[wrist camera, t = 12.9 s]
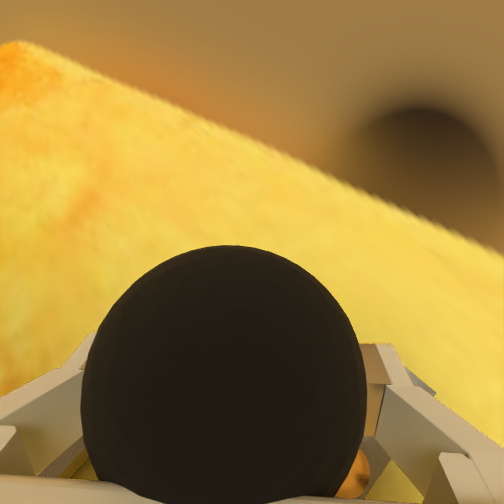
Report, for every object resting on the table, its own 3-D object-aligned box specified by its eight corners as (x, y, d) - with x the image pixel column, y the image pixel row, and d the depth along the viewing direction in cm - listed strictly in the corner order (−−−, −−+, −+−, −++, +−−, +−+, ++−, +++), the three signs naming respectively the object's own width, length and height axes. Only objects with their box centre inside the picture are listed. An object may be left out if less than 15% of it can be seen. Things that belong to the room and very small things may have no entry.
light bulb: (345, 371, 14) (504, 354, 5) (253, 496, 12) (210, 842, 3) (242, 283, 15) (201, 137, 6) (149, 385, 14) (-86, 396, 5)
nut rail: (-38, 571, 18) (-103, 613, 15) (259, 260, 24) (258, 242, 20) (105, 825, 15) (59, 950, 11) (412, 390, 20) (440, 393, 17)
